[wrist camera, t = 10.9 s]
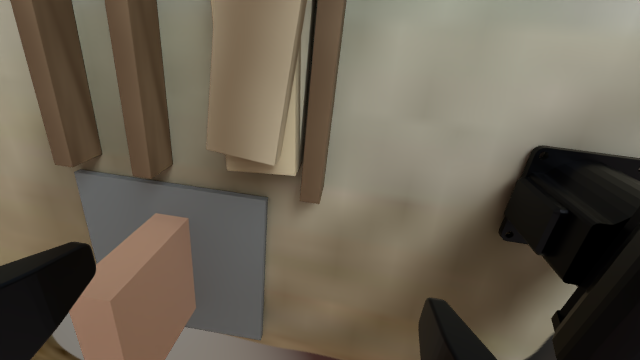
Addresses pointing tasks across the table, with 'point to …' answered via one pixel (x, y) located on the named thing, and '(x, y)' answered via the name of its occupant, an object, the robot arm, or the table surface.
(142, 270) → the terracotta board
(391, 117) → the table surface
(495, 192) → the table surface
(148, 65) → the walnut rack
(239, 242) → the charcoal mat
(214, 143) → the offcut stack
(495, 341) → the table surface
